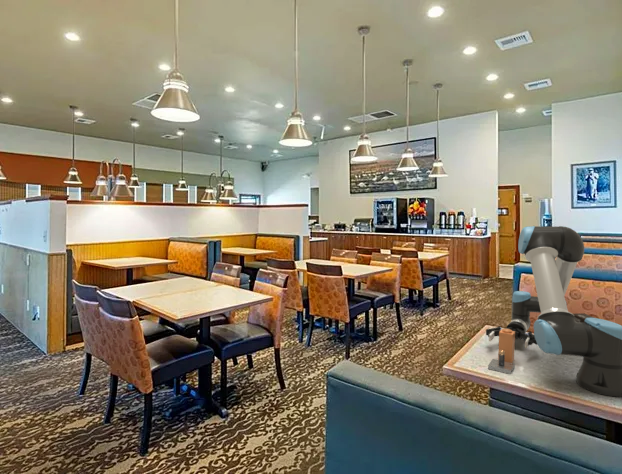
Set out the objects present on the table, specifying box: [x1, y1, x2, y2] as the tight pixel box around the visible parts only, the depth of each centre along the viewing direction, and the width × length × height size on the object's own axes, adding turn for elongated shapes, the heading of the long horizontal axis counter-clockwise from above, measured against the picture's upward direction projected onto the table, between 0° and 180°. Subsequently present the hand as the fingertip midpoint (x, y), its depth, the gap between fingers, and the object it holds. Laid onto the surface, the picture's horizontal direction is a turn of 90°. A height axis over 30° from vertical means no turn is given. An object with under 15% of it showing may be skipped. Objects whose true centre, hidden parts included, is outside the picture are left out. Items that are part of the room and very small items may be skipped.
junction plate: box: [487, 349, 516, 375], centre depth 148 cm, size 8×8×7 cm
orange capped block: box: [497, 328, 516, 363], centre depth 155 cm, size 5×5×13 cm
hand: (507, 341), depth 158 cm, fingers open, 13 cm apart
